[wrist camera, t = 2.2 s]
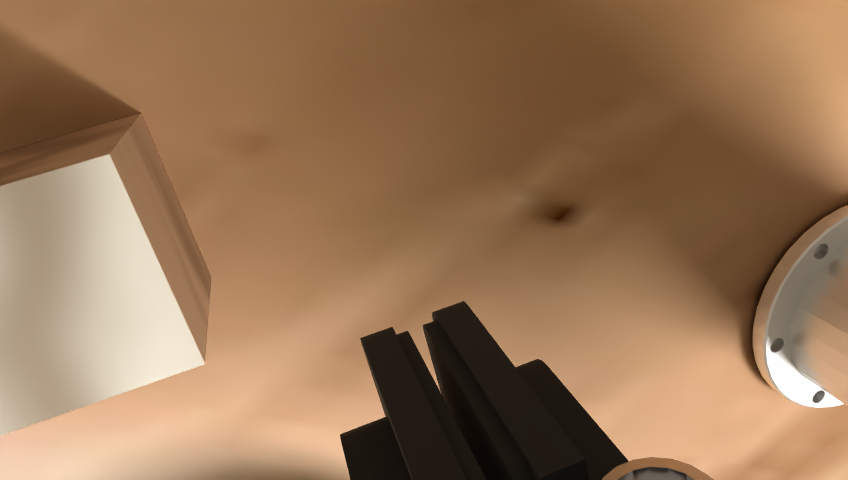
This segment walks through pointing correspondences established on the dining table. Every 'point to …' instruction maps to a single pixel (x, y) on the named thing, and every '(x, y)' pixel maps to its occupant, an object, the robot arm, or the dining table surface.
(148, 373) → the cube
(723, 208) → the dining table surface
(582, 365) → the dining table surface
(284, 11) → the dining table surface
